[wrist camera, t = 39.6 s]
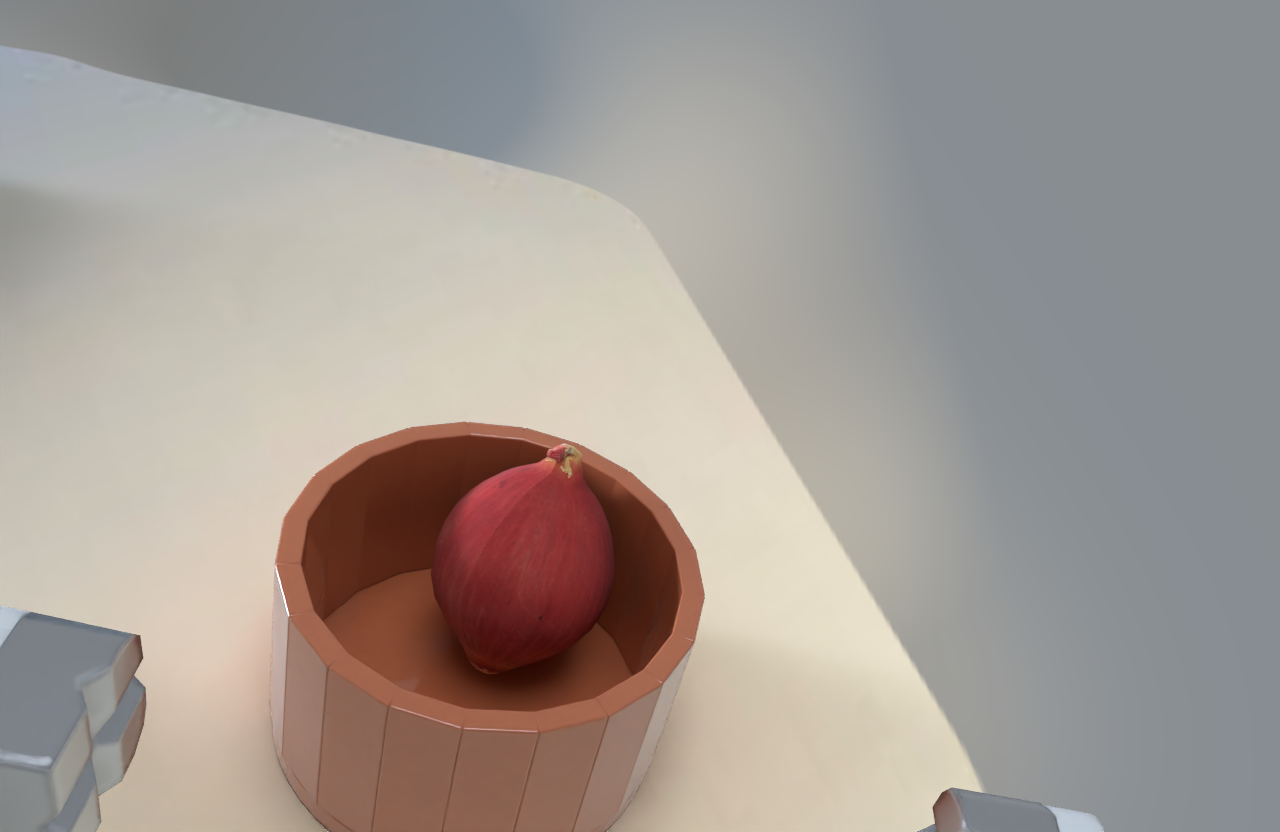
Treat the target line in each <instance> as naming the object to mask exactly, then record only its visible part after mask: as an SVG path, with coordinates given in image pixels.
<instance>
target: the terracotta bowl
mask: <svg viewBox="0 0 1280 832" xmlns="http://www.w3.org/2000/svg"><path fill="white" fill-rule="evenodd" d="M564 443H565V444H568V445H571V446H574V447H575V448H576V449H577V450H579V451H580V452H581V454H582V455H583V456H582V467H583V476H584V479H585V481H586V483H587V485H588V487H589V488H590V489H591V491H592V492H593V493H594V495H595V496H596V498H597V500H598V501H599V503H600V505H601V506H602V508H603V511H604V513H605V515H606V518H607V520H608V524H609V527H610V531H611V535H612V542H613V550H614V559H615V568H614V578H613V585H612V589H611V592H610V596H609V599H608V602H607V606H606V608H605V610H604V611H603V613H602V614H601V616H600V617H599V619H598V620H597V622H596V624H595V625H594V627H593V628H592V630H590V631H589V632H588V633H587V634H586V635H584V636H583V637H582V638H581V639H580V640H578V641H577V642H576V643H575V644H574V645H572V646H571V647H570V648H567V649H565V650H563V651H561V652H559V653H557V654H555V655H553V656H551V657H548V658H546V659H543V660H540V661H537V662H534V663H530V664H527V665H524V666H521V667H517V668H514V669H511V670H508V671H505V672H502V673H499V674H486V673H483V672H481V671H479V670H477V669H476V668H474V667H473V665H472V664H471V663H470V662H469V660H468V658H467V656H466V653H465V651H464V648H463V646H462V644H461V643H460V641H459V639H458V638H457V636H456V634H455V633H454V631H453V630H452V628H451V627H450V625H449V624H448V622H447V621H446V619H445V618H444V616H443V614H442V612H441V610H440V608H439V606H438V603H437V601H436V599H435V597H434V591H433V584H432V578H431V569H432V564H433V559H434V555H435V550H436V543H437V539H438V537H439V534H440V532H441V530H442V527H443V525H444V523H445V520H446V518H447V517H448V515H449V514H450V513H451V511H452V510H453V508H454V507H455V505H456V504H457V503H458V502H459V501H460V500H461V499H462V498H463V497H464V496H465V495H466V494H467V493H468V492H469V491H470V490H472V489H473V488H474V487H476V486H477V485H479V484H480V483H482V482H483V481H485V480H487V479H489V478H491V477H493V476H495V475H497V474H499V473H501V472H503V471H506V470H509V469H512V468H515V467H519V466H524V465H529V464H534V463H539V462H540V461H542V460H543V459H545V458H546V457H548V456H547V452H548V450H549V449H553V448H554V447H556V446H557V445H560V444H564ZM704 595H705V594H704V589H703V584H702V579H701V574H700V569H699V564H698V559H697V555H696V550H695V549H694V546H693V545H692V543H691V542H690V540H689V538H688V537H687V535H686V534H685V532H684V530H683V529H682V527H681V526H680V524H679V522H678V521H677V519H676V517H675V516H674V514H673V513H672V511H671V509H670V508H668V505H667V504H666V503H664V502H663V501H662V500H661V499H660V498H659V497H658V496H657V495H656V494H654V493H653V492H652V491H651V490H650V489H649V488H648V487H647V486H646V485H644V484H643V483H642V482H641V481H640V480H639V479H638V478H637V477H635V476H634V475H633V474H632V473H631V472H628V470H626V469H624V468H623V467H621V466H619V465H617V464H615V463H613V462H612V461H610V460H608V459H606V458H604V457H602V456H601V455H599V454H597V453H595V452H593V451H591V450H590V449H588V448H586V447H584V446H582V445H579V444H578V443H574V442H571V441H568V440H565V439H561V438H558V437H555V436H551V435H548V434H545V433H541V432H538V431H535V430H532V429H528V428H525V429H524V428H523V427H513V426H503V425H494V424H484V423H474V422H468V423H467V422H457V423H447V424H438V425H428V426H418V427H410V428H406V429H403V430H400V431H397V432H395V433H392V434H389V435H386V436H383V437H380V438H377V439H374V440H371V441H368V442H365V443H362V444H359V445H358V446H355V447H354V448H352V449H351V450H349V451H348V452H346V453H345V454H343V455H342V456H340V457H339V458H338V459H336V460H335V461H333V462H332V463H330V464H329V465H327V466H326V467H325V468H323V469H322V470H320V471H319V472H317V473H316V474H315V475H314V476H313V477H312V478H311V480H310V481H309V483H308V484H307V485H306V487H305V488H304V490H303V491H302V492H301V494H300V495H299V497H298V498H297V499H296V501H295V502H294V504H293V505H292V507H291V508H290V509H289V511H288V512H287V514H286V515H285V517H284V519H283V524H282V529H281V534H280V539H279V545H278V550H277V555H276V560H275V572H274V599H273V626H272V653H271V680H270V709H271V718H272V730H273V739H274V743H275V747H276V751H277V755H278V759H279V761H280V764H281V766H282V768H283V771H284V773H285V775H286V778H287V780H288V782H289V783H290V785H291V786H292V788H293V789H294V791H295V793H296V794H297V796H298V797H299V799H300V800H301V802H302V803H303V804H304V805H305V806H306V807H307V809H308V810H309V811H310V812H311V813H312V814H313V815H314V817H315V818H316V819H317V820H318V821H319V822H320V823H322V824H323V825H324V826H325V827H326V828H327V829H329V830H330V831H331V832H605V831H606V830H607V829H608V828H610V827H611V825H612V824H613V823H614V822H615V821H616V820H617V819H618V818H619V816H620V815H621V814H622V813H623V812H624V811H625V809H626V808H627V806H628V805H629V803H630V802H631V800H632V798H633V797H634V795H635V794H636V792H637V790H638V788H639V786H640V783H641V781H642V779H643V777H644V775H645V774H646V772H647V771H648V768H649V766H650V763H651V761H652V758H653V755H654V752H655V750H656V747H657V744H658V741H659V739H660V736H661V733H662V730H663V728H664V725H665V722H666V720H667V717H668V714H669V711H670V709H671V706H672V703H673V700H674V698H675V695H676V692H677V689H678V687H679V684H680V681H681V678H682V676H683V673H684V670H685V667H686V665H687V662H688V659H689V656H690V654H691V651H692V648H693V646H694V643H695V639H696V634H697V630H698V625H699V621H700V616H701V612H702V607H703V603H704V599H705V598H704Z"/></svg>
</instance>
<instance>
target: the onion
mask: <svg viewBox="0 0 1280 832" xmlns="http://www.w3.org/2000/svg"><path fill="white" fill-rule="evenodd" d="M547 456H548V457H546V458H545V459H543V460H542V461H540V462H539V463H534V464H529V465H524V466H519V467H515V468H512V469H509V470H506V471H503V472H501V473H499V474H497V475H495V476H493V477H491V478H489V479H487V480H485V481H483V482H482V483H480V484H479V485H477V486H476V487H474V488H473V489H472V490H470V491H469V492H468V493H467V494H466V495H465V496H464V497H463V498H462V499H461V500H460V501H459V502H458V503H457V504H456V505H455V507H454V508H453V510H452V511H451V513H450V514H449V515H448V517H447V518H446V520H445V523H444V525H443V527H442V530H441V532H440V534H439V537H438V539H437V543H436V550H435V555H434V559H433V564H432V569H431V578H432V584H433V591H434V597H435V599H436V601H437V603H438V606H439V608H440V610H441V612H442V614H443V616H444V618H445V619H446V621H447V622H448V624H449V625H450V627H451V628H452V630H453V631H454V633H455V634H456V636H457V638H458V639H459V641H460V643H461V644H462V646H463V648H464V651H465V653H466V656H467V658H468V660H469V662H470V663H471V664H472V665H473V667H474V668H476V669H477V670H479V671H481V672H483V673H486V674H499V673H502V672H505V671H508V670H511V669H514V668H517V667H521V666H524V665H527V664H530V663H534V662H537V661H540V660H543V659H546V658H548V657H551V656H553V655H555V654H557V653H559V652H561V651H563V650H565V649H567V648H570V647H571V646H572V645H574V644H575V643H576V642H577V641H578V640H580V639H581V638H582V637H583V636H584V635H586V634H587V633H588V632H589V631H590V630H592V628H593V627H594V625H595V624H596V622H597V620H598V619H599V617H600V616H601V614H602V613H603V611H604V610H605V608H606V606H607V602H608V599H609V596H610V592H611V589H612V585H613V578H614V568H615V559H614V550H613V542H612V535H611V531H610V527H609V524H608V520H607V518H606V515H605V513H604V511H603V508H602V506H601V505H600V503H599V501H598V500H597V498H596V496H595V495H594V493H593V492H592V491H591V489H590V488H589V487H588V485H587V483H586V481H585V479H584V476H583V467H582V456H583V455H582V454H581V452H580V451H579V450H577V449H576V448H575V447H574V446H571V445H568V444H565V443H564V444H560V445H557V446H556V447H554V448H553V449H549V450H548V452H547Z"/></svg>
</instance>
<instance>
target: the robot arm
mask: <svg viewBox="0 0 1280 832" xmlns="http://www.w3.org/2000/svg"><path fill="white" fill-rule="evenodd" d="M142 659H143V653H142V646H141V638H140V635H136V634H131V633H126V632H122V631H117V630H112V629H108V628H103V627H98V626H94V625H89V624H84V623H80V622H75V621H70V620H66V619H61V618H56V617H52V616H47V615H42V614H38V613H34V612H29V611H24V610H19V609H14V608H9V607H4V606H0V832H96V831H97V829H98V827H99V825H100V823H101V815H100V806H99V797H98V796H100V795H101V794H103V793H104V792H106V791H107V790H109V789H110V788H112V787H113V786H115V785H117V784H118V783H120V782H121V781H122V779H123V777H124V775H125V773H126V771H127V769H128V767H129V765H130V763H131V761H132V759H133V756H134V754H135V751H136V748H137V745H138V741H139V738H140V735H141V732H142V729H143V726H144V718H145V710H146V690H145V687H144V686H143V684H142V683H141V682H140V681H139V680H138V679H137V678H136V677H135V676H134V674H135V672H136V670H137V668H138V667H139V665H140V663H141V661H142ZM933 812H934V819H935V824H934V825H931V826H929V827H927V828H925V829H922V830H920V831H918V832H1104V829H1103V826H1102V824H1101V823H1100V822H1099V820H1098V819H1097V818H1096V816H1095V815H1093V814H1089V813H1085V812H1079V811H1074V810H1068V809H1062V808H1056V807H1051V806H1043V805H1042V804H1041V803H1037V802H1031V801H1025V800H1020V799H1014V798H1008V797H1002V796H997V795H990V794H985V793H980V792H974V791H968V790H962V789H957V788H950V789H948V790H946V791H944V792H942V793H941V795H940V796H939V798H938V800H937V801H936V803H935V804H934V806H933Z"/></svg>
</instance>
